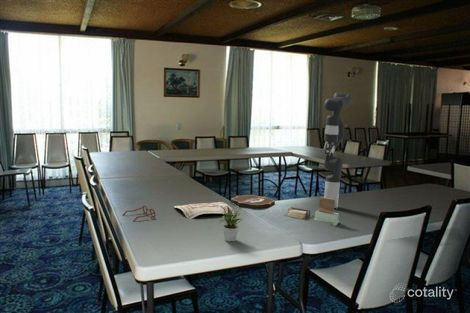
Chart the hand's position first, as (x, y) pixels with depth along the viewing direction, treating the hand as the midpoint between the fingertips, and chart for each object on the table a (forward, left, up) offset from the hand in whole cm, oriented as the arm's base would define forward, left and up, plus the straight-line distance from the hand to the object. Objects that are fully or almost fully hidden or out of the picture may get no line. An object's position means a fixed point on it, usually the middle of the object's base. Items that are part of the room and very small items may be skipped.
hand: (329, 161), depth 221 cm
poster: (+36, -62, -34) cm, 79 cm away
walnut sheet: (+13, +3, -32) cm, 34 cm away
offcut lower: (+17, -12, -32) cm, 38 cm away
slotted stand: (+13, +4, -33) cm, 36 cm away
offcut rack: (+15, -12, -33) cm, 38 cm away
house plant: (+72, -28, -33) cm, 84 cm away
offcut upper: (+18, -12, -30) cm, 37 cm away
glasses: (+68, -83, -34) cm, 112 cm away
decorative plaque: (-1, -47, -34) cm, 58 cm away
